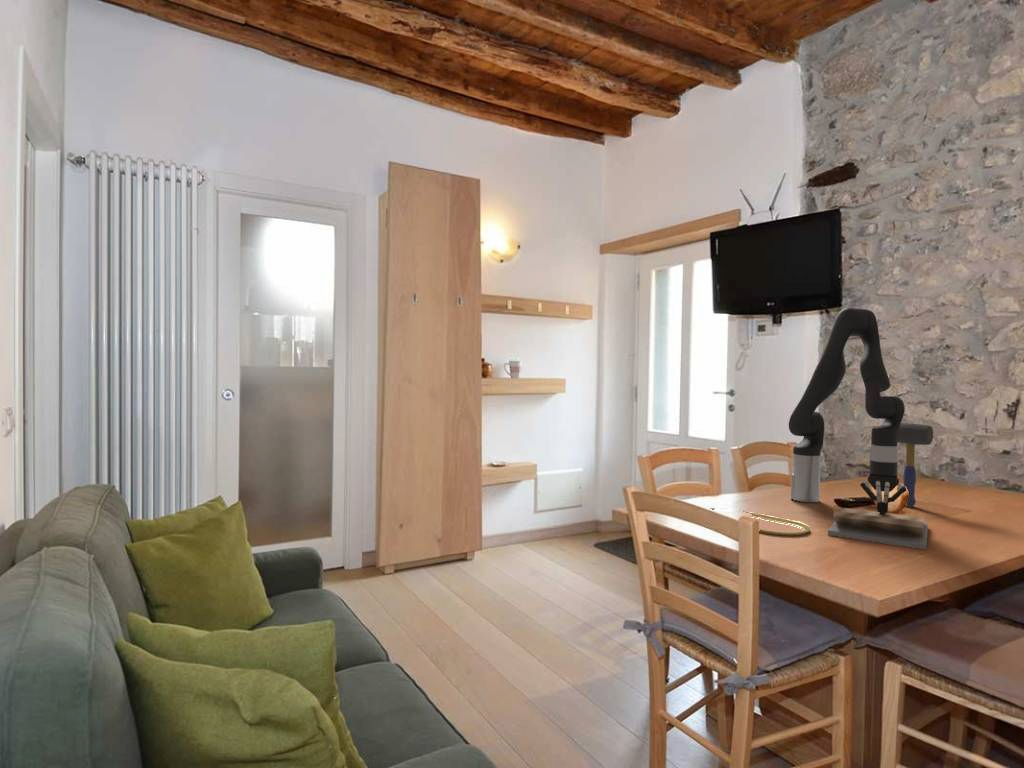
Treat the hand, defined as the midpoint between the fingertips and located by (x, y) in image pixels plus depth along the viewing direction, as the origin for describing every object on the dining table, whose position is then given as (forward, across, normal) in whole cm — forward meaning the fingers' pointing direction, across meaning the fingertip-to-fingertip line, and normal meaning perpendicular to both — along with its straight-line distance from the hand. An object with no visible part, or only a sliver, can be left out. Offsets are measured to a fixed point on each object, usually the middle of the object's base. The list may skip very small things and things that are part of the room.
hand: (882, 513), depth 193 cm
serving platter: (+4, +34, +23) cm, 42 cm away
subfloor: (+3, 0, +10) cm, 11 cm away
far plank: (+2, 0, +2) cm, 3 cm away
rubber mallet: (+4, -6, -36) cm, 37 cm away
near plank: (0, 0, +19) cm, 19 cm away
